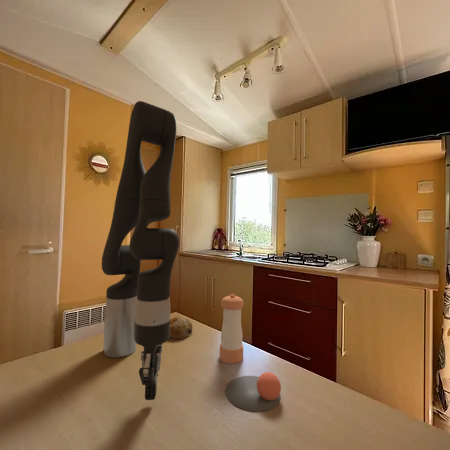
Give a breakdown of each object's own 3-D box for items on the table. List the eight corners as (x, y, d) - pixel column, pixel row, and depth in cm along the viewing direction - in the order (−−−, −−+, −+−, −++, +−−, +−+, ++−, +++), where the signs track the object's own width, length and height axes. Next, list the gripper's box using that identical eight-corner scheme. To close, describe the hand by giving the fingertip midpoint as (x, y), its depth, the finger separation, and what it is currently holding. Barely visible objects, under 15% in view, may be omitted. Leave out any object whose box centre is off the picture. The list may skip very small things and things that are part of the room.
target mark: (214, 395, 58) (214, 394, 58) (243, 371, 69) (243, 370, 69) (265, 420, 51) (265, 419, 51) (288, 388, 62) (288, 388, 62)
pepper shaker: (231, 349, 82) (232, 290, 82) (248, 357, 76) (249, 294, 77) (214, 356, 76) (215, 293, 77) (231, 366, 71) (233, 298, 72)
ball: (287, 391, 58) (269, 408, 57) (273, 370, 62) (256, 385, 61) (282, 386, 55) (263, 404, 54) (267, 364, 59) (249, 380, 58)
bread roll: (180, 351, 88) (190, 330, 87) (156, 335, 90) (166, 315, 89) (190, 339, 97) (199, 320, 97) (168, 325, 99) (176, 307, 99)
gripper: (165, 329, 49) (163, 419, 49) (173, 308, 62) (171, 379, 62) (126, 330, 49) (123, 421, 48) (142, 308, 62) (140, 380, 61)
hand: (150, 397), depth 55 cm, fingers closed
